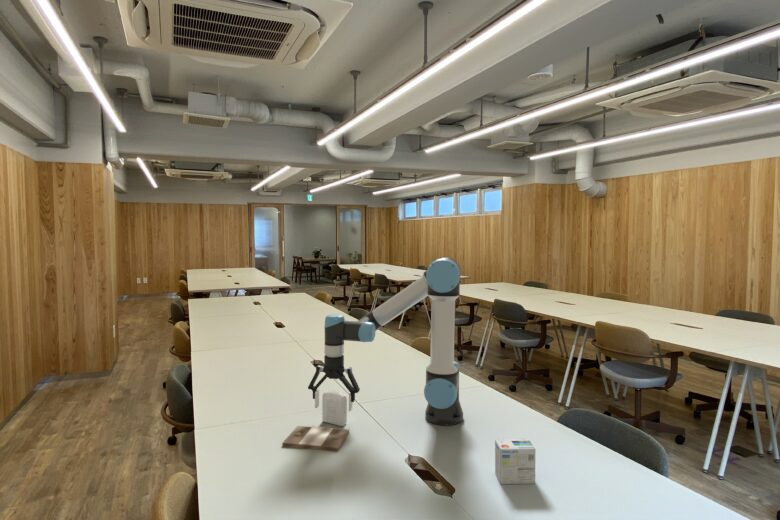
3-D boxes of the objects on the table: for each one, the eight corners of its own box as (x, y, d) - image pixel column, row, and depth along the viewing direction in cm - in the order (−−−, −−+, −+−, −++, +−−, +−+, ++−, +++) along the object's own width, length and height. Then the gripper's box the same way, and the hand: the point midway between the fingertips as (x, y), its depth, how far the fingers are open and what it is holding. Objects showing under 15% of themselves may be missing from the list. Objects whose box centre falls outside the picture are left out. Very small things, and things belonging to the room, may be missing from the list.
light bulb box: (528, 472, 135) (528, 437, 134) (536, 484, 128) (536, 448, 128) (493, 472, 134) (494, 438, 134) (500, 485, 128) (500, 449, 127)
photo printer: (348, 423, 170) (348, 392, 170) (342, 427, 167) (341, 395, 166) (327, 418, 175) (327, 387, 175) (320, 421, 172) (320, 390, 171)
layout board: (348, 433, 162) (349, 429, 162) (338, 451, 148) (338, 446, 148) (297, 428, 165) (297, 425, 165) (282, 446, 151) (282, 442, 151)
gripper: (367, 354, 171) (366, 407, 172) (307, 350, 175) (306, 402, 177) (363, 359, 164) (362, 414, 165) (300, 355, 168) (299, 409, 169)
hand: (333, 408), depth 171 cm, fingers open, 13 cm apart
